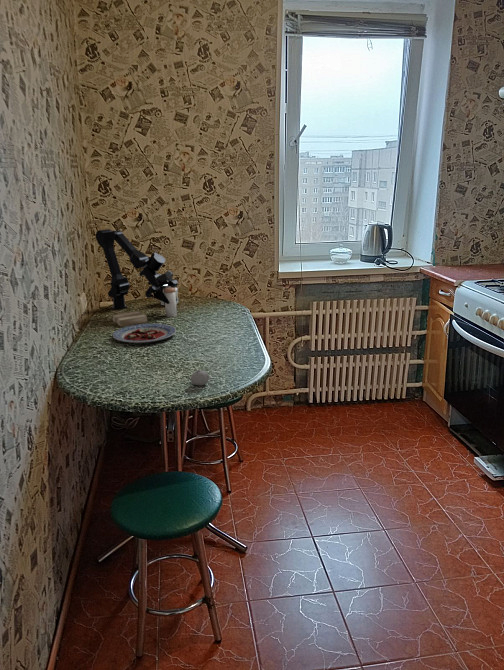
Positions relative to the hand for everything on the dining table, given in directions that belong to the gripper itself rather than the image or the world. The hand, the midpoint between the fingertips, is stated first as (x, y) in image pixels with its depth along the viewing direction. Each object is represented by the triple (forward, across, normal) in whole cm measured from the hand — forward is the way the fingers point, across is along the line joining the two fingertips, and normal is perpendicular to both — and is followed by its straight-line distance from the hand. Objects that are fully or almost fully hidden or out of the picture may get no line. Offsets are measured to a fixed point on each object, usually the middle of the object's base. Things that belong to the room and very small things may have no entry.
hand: (172, 302), depth 252 cm
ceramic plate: (+12, -32, -2) cm, 34 cm away
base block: (-3, -17, +13) cm, 22 cm away
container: (-7, +18, +17) cm, 26 cm away
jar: (+4, 0, +6) cm, 7 cm away
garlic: (+48, -64, -39) cm, 89 cm away
